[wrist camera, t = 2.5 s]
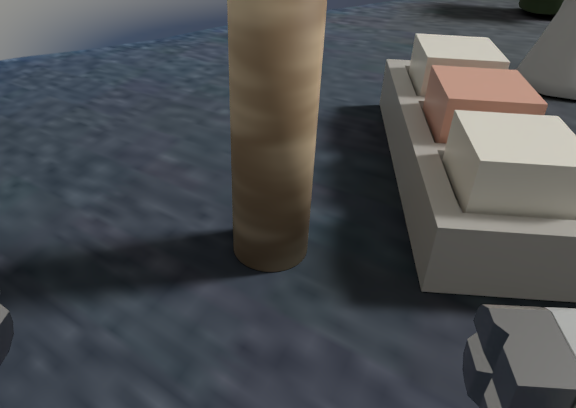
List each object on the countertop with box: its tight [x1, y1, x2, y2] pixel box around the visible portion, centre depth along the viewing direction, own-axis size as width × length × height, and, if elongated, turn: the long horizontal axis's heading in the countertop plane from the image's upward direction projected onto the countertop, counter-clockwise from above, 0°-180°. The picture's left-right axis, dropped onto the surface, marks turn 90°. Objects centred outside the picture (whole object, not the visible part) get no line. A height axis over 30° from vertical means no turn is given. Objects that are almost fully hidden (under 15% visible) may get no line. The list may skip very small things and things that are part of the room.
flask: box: [516, 0, 576, 100], centre depth 42 cm, size 7×7×10 cm
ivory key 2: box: [442, 110, 576, 220], centre depth 24 cm, size 5×5×3 cm
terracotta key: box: [423, 65, 548, 144], centre depth 29 cm, size 5×5×3 cm
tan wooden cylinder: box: [227, 0, 327, 272], centre depth 21 cm, size 4×4×13 cm
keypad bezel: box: [380, 59, 576, 302], centre depth 30 cm, size 8×21×4 cm, turn 177°
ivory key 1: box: [409, 34, 510, 96], centre depth 34 cm, size 5×5×3 cm
